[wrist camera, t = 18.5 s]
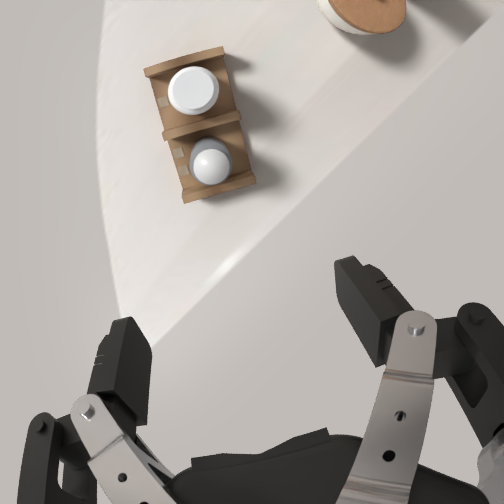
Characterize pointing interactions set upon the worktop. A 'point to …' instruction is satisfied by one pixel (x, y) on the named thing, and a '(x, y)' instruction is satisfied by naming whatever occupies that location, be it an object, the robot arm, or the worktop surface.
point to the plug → (210, 161)
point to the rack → (201, 124)
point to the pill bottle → (193, 90)
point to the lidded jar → (364, 15)
